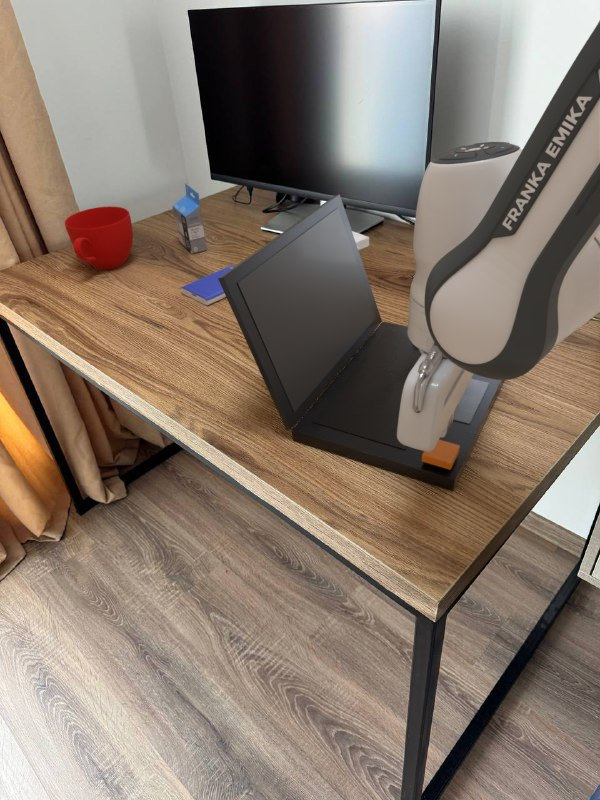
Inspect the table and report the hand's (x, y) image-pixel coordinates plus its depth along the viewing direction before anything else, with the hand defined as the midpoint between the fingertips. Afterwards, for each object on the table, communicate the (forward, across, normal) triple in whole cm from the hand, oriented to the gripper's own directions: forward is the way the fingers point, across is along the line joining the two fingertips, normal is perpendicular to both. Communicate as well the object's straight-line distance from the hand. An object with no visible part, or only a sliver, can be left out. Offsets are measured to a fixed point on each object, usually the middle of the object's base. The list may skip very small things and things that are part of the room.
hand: (440, 428), depth 65 cm
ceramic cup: (+8, +30, +82) cm, 87 cm away
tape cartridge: (+7, +46, +70) cm, 84 cm away
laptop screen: (-5, +13, +22) cm, 26 cm away
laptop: (+7, +13, +8) cm, 16 cm away
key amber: (+5, 0, 0) cm, 5 cm away
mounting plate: (+7, +56, +42) cm, 70 cm away
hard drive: (+7, +31, +53) cm, 61 cm away
